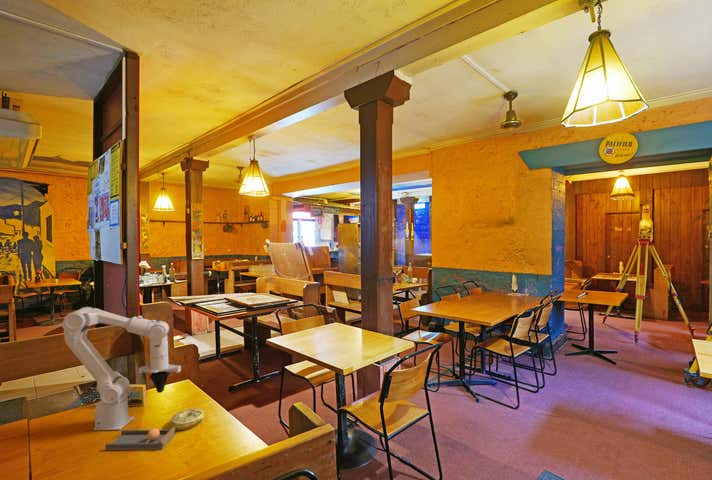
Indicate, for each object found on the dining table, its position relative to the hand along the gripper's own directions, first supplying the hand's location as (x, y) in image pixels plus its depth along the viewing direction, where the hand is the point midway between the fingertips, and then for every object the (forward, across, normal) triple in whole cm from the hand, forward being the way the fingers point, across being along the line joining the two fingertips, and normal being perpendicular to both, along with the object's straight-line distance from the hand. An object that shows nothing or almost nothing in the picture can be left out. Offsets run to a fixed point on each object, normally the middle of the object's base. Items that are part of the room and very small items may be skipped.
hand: (160, 391), depth 128 cm
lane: (+10, +2, -15) cm, 18 cm away
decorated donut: (+10, +12, -4) cm, 16 cm away
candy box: (+10, -20, +10) cm, 25 cm away
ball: (+8, +6, -15) cm, 18 cm away
